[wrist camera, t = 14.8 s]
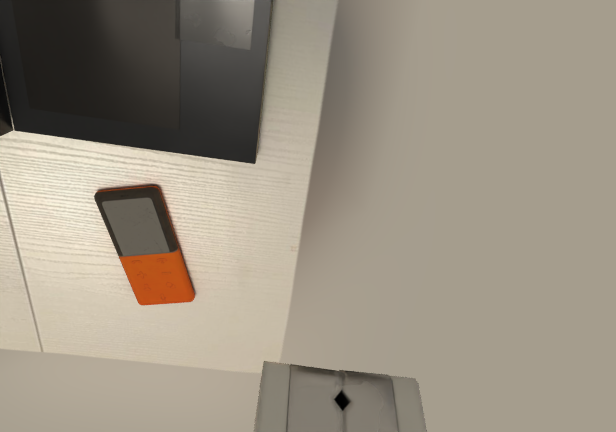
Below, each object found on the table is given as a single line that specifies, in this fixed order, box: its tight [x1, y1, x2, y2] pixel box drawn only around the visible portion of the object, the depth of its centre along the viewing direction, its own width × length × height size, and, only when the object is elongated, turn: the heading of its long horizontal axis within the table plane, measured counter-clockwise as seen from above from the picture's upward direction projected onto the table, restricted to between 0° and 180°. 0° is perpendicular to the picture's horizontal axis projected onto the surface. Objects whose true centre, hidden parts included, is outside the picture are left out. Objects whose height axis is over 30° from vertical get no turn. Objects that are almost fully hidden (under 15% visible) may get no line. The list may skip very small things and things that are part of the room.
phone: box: [94, 186, 195, 305], centre depth 56 cm, size 6×1×15 cm
